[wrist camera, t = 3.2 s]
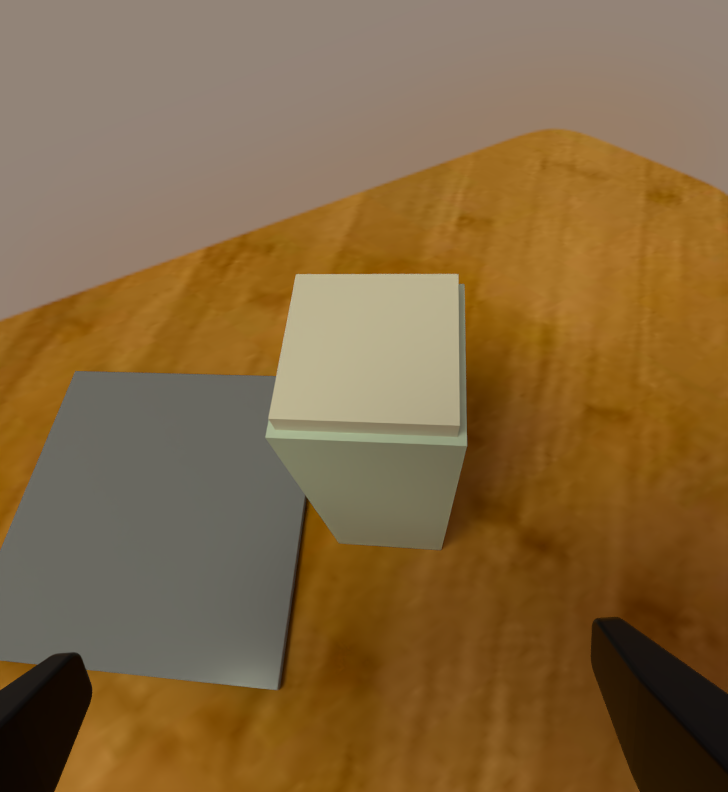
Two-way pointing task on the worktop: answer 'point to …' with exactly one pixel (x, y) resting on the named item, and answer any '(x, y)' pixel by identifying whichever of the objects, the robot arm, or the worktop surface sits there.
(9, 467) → the worktop surface
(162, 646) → the plate
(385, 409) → the tea tin
